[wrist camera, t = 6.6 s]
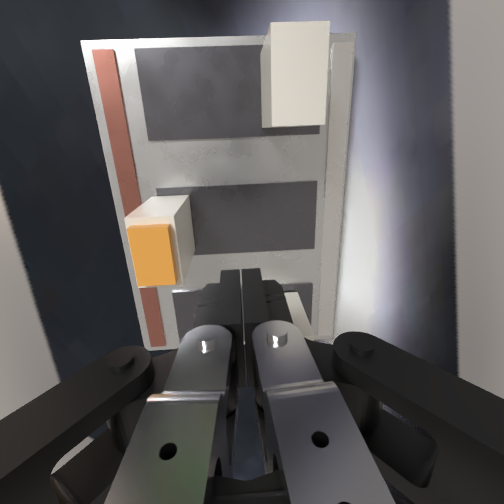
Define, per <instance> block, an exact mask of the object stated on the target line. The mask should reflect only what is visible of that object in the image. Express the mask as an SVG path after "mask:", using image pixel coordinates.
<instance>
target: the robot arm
mask: <svg viewBox="0 0 504 504" xmlns="http://www.w3.org/2000/svg"><path fill="white" fill-rule="evenodd" d="M241 272H242V293H243V314H244V333H245V350H246V367H247V384H248V387H252V386H254V391H255V407H256V416H257V422H258V428H259V434H260V441H261V447H262V453H263V459H264V465H265V472H266V475H263V476H261V477H258V478H255V479H253V480H249V481H242V480H237V479H233V466H234V453H235V440H236V427H237V413H238V410H237V404H238V401H239V388H240V387H245V363H244V339H243V316H242V298H241V282H240V269H232V270H221V274H220V283H208V284H207V285H206V286H205V287H204V288H203V289H202V290H201V291H200V296H199V300H198V305H197V310H196V314H195V319H194V324H193V329H192V330H190V331H189V332H187V333H186V334H185V335H184V337H183V338H182V340H181V343H180V346H179V348H178V349H176V350H174V351H171V352H169V353H165V354H162V355H159V356H155V357H152V358H151V355H150V352H149V351H148V350H147V349H146V348H144V347H141V346H125V347H121V348H118V349H115V350H113V351H111V352H109V353H107V354H105V355H104V356H102V357H101V358H99V359H97V360H96V361H94V362H93V363H91V364H89V365H88V366H86V367H85V368H83V369H81V370H80V371H78V372H77V373H75V374H73V375H72V376H70V377H69V378H67V379H65V380H64V381H62V382H61V383H59V384H57V385H56V386H54V387H53V388H51V389H50V390H48V391H46V392H45V393H43V394H42V395H40V396H38V397H37V398H35V399H34V400H32V401H30V402H29V403H27V404H26V405H24V406H22V407H21V408H19V409H18V410H16V411H15V412H13V413H11V414H10V415H8V416H6V417H5V418H3V419H2V420H0V504H409V503H407V502H406V501H404V500H403V499H402V498H400V497H399V496H397V495H396V494H394V493H392V492H390V491H389V489H388V487H387V485H386V483H385V481H384V479H385V480H387V481H388V482H389V483H390V484H392V485H393V486H394V487H395V488H396V489H398V490H399V491H400V492H401V493H402V494H404V495H405V496H406V497H407V498H409V499H410V500H411V501H412V502H413V503H415V504H504V399H502V398H500V397H498V396H496V395H494V394H492V393H490V392H488V391H486V390H484V389H482V388H480V387H478V386H476V385H474V384H472V383H469V382H467V381H465V380H463V379H461V378H459V377H457V376H455V375H453V374H451V373H449V372H447V371H445V370H443V369H441V368H439V367H437V366H435V365H433V364H431V363H429V362H426V361H424V360H422V359H420V358H418V357H416V356H414V355H412V354H410V353H408V352H406V351H404V350H402V349H400V348H398V347H396V346H394V345H392V344H390V343H387V342H385V341H383V340H381V339H379V338H377V337H375V336H373V335H370V334H367V333H363V332H346V333H343V334H341V335H339V336H338V337H337V338H336V339H335V340H334V343H333V345H331V344H325V343H319V342H315V341H311V340H309V339H307V338H305V337H303V335H302V332H301V331H300V329H299V328H298V327H297V326H295V325H294V324H293V321H292V317H291V314H290V311H289V307H288V304H287V302H286V297H285V295H284V291H283V287H282V285H281V284H279V283H278V282H277V281H276V280H275V279H274V280H262V276H261V270H260V268H249V269H241ZM383 403H384V404H385V405H387V406H388V407H390V408H391V409H393V410H394V411H396V412H398V413H399V414H401V415H402V416H404V417H405V418H407V419H408V420H410V421H412V422H413V423H415V424H416V425H418V426H419V427H421V428H422V429H424V430H425V431H426V432H428V433H429V434H430V435H431V436H432V438H433V439H434V440H435V442H436V443H434V442H432V441H431V440H429V439H428V438H426V437H425V436H423V435H422V434H420V433H419V432H417V431H416V430H414V429H412V428H411V427H409V426H408V425H406V424H405V423H403V422H402V421H400V420H399V419H397V418H396V417H394V416H393V415H391V414H390V413H388V412H387V411H385V410H383V409H382V405H383ZM106 421H107V424H108V429H107V430H106V431H104V432H103V433H102V434H101V435H100V436H98V437H97V438H96V439H95V440H94V441H92V442H91V443H90V444H89V445H88V446H86V447H85V448H84V449H83V450H82V451H80V452H79V453H78V454H77V455H76V456H74V457H73V458H72V459H71V460H70V461H68V462H67V463H66V464H65V465H63V466H62V467H61V468H60V469H59V470H57V471H56V472H55V473H53V474H51V472H52V470H53V468H54V466H55V465H56V463H57V462H58V461H59V460H60V459H61V458H62V457H63V456H64V455H65V454H66V453H68V452H69V451H70V450H71V449H73V448H74V447H75V446H76V445H78V444H79V443H80V442H81V441H82V440H84V439H85V438H86V437H88V436H89V435H90V434H91V433H92V432H94V431H95V430H96V429H97V428H99V427H100V426H101V425H102V424H104V423H105V422H106ZM383 478H384V479H383Z"/></svg>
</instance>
